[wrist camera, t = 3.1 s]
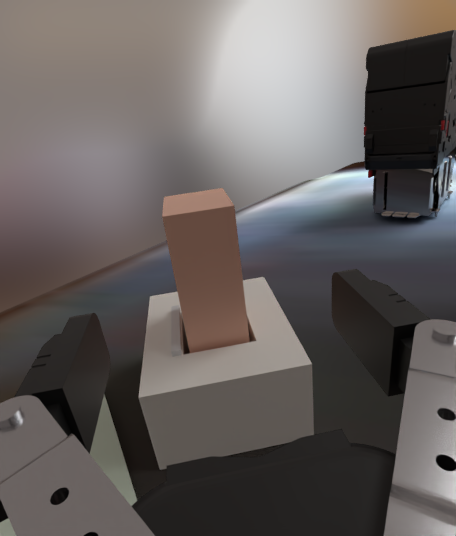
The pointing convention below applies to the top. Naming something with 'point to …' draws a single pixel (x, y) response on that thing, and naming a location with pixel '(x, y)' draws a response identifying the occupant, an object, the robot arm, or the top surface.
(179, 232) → the tall brown pillar
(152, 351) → the white square socket block
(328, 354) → the top surface
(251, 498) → the robot arm
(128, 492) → the mat
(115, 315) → the top surface
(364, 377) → the top surface
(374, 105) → the bill acceptor
